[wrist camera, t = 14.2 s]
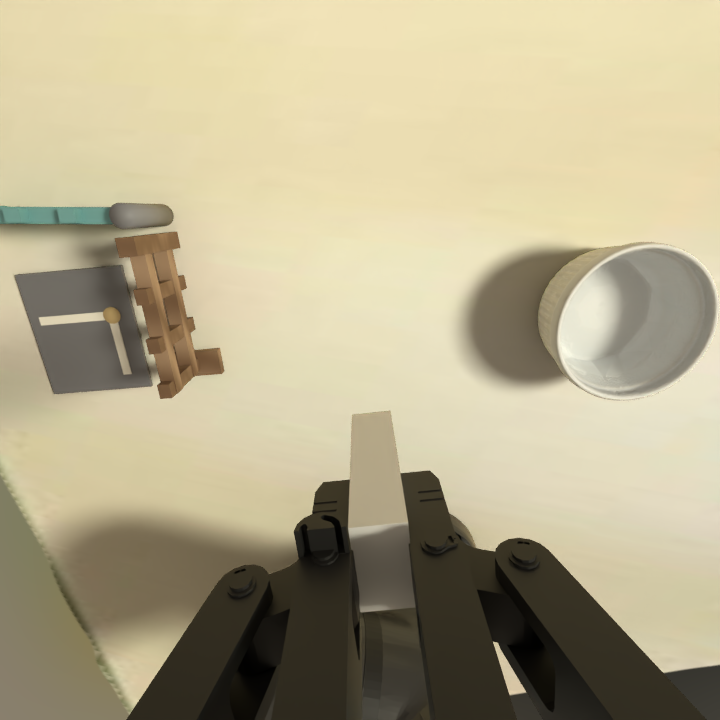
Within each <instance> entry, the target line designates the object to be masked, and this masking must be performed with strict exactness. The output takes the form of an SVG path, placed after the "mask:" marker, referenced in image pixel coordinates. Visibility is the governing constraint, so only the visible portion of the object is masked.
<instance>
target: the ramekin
mask: <svg viewBox="0 0 720 720" xmlns="http://www.w3.org/2000/svg"><path fill="white" fill-rule="evenodd" d="M718 319H719V295H718V291H717V287H716V284H715V282H714V279H713V277H712V276H711V274H710V272H709V271H708V269H707V268H706V267H705V266H704V265H703V263H702V262H701V261H699V260H698V259H697V258H696V257H694V256H693V255H692V254H690V253H688V252H687V251H685V250H683V249H680V248H678V247H675V246H671V245H667V244H661V243H654V242H637V243H630V244H626V245H622V246H613V247H606V248H599V249H595V250H593V251H589V252H587V253H585V254H583V255H580V256H578V257H577V258H576V259H574V260H571V261H570V262H569V263H568V264H567V265H565V266H563V267H562V268H561V270H560V271H558V272H557V273H556V274H555V276H554V277H553V278H552V279H551V281H550V283H549V284H548V286H547V287H546V289H545V292H544V294H543V296H542V299H541V302H540V305H539V310H538V328H539V331H540V336H541V338H542V342H543V344H544V346H545V347H546V349H547V351H548V352H549V353H550V355H551V356H552V357H553V358H554V360H555V361H556V363H557V365H558V367H559V368H560V370H561V371H562V373H563V374H564V375H565V376H566V377H567V378H568V379H569V380H570V381H571V382H572V383H573V384H575V385H576V386H578V387H579V388H581V389H582V390H584V391H586V392H588V393H590V394H592V395H594V396H597V397H600V398H604V399H609V400H623V401H624V400H635V399H640V398H645V397H648V396H651V395H654V394H657V393H659V392H661V391H664V390H665V389H667V388H669V387H671V386H673V385H674V384H676V383H677V382H678V381H680V380H681V379H682V378H683V377H685V376H686V375H687V374H688V373H689V372H690V371H691V370H692V369H693V368H694V367H695V366H696V365H697V364H698V362H699V361H700V360H701V359H702V357H703V356H704V354H705V353H706V351H707V349H708V348H709V346H710V344H711V342H712V339H713V337H714V334H715V331H716V328H717V324H718Z"/></svg>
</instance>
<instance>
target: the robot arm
mask: <svg viewBox="0 0 720 720" xmlns="http://www.w3.org/2000/svg"><path fill="white" fill-rule="evenodd" d="M312 513H313V514H312V515H310V516H308V517H306V518H304V519H303V520H301V521H300V522H299V523H298V524H297V526H296V528H295V530H294V535H295V540H296V545H297V551H298V556H299V560H298V561H297V562H296V563H294V564H293V565H291V566H290V567H288V568H286V569H283V570H281V571H278V572H275V573H272V574H270V575H268V572H267V571H266V570H265V569H264V568H263V567H260V566H257V565H244V566H241V567H238V568H235V569H233V570H232V571H230V572H229V573H227V574H225V575H224V576H223V577H222V579H221V580H220V581H219V582H218V583H217V585H216V586H215V588H214V589H213V591H212V592H211V594H210V595H209V597H208V598H207V600H206V601H205V603H204V604H203V606H202V607H201V609H200V610H199V612H198V613H197V615H196V616H195V618H194V619H193V621H192V622H191V624H190V625H189V627H188V628H187V630H186V631H185V633H184V634H183V636H182V637H181V639H180V640H179V642H178V643H177V645H176V646H175V648H174V649H173V651H172V652H171V654H170V655H169V657H168V658H167V660H166V661H165V663H164V664H163V666H162V667H161V669H160V670H159V672H158V673H157V675H156V676H155V678H154V679H153V681H152V682H151V684H150V685H149V687H148V688H147V690H146V691H145V693H144V694H143V696H142V697H141V699H140V700H139V702H138V703H137V705H136V706H135V708H134V709H133V711H132V712H131V714H130V715H129V717H128V718H127V720H517V718H516V715H515V712H514V709H513V706H512V702H511V699H510V696H509V692H508V689H507V686H506V683H505V680H504V676H503V673H502V670H501V667H500V663H499V660H498V657H497V654H496V651H495V647H494V644H493V642H498V643H499V646H500V649H501V650H502V652H503V654H504V655H505V657H506V659H507V660H508V662H509V664H510V665H511V667H512V669H513V670H514V672H515V674H516V675H517V677H518V679H519V680H520V682H521V684H522V685H523V687H524V689H525V690H526V692H527V694H528V695H529V697H530V699H531V700H532V702H533V704H534V705H535V707H536V709H537V710H538V712H539V714H540V715H541V717H542V719H543V720H706V719H705V717H704V716H702V715H701V713H700V712H699V711H698V710H697V709H696V708H695V707H694V706H693V705H692V703H690V701H689V700H688V699H687V698H686V697H685V696H684V695H683V694H682V693H681V692H680V691H679V690H678V688H677V687H676V686H675V685H674V684H673V683H672V682H671V681H670V680H669V679H668V678H667V677H666V676H665V675H664V673H663V672H662V671H661V670H660V669H659V668H658V667H657V666H656V665H655V664H654V663H653V662H652V661H651V660H650V658H649V657H648V656H647V655H646V654H645V653H644V652H643V651H642V650H641V649H640V648H639V647H638V646H637V645H636V643H635V642H634V641H633V640H632V639H631V638H630V637H629V636H628V635H627V634H626V633H625V632H624V631H623V630H622V628H621V627H620V626H619V625H618V624H617V623H616V622H615V621H614V620H613V619H612V618H611V617H610V616H609V615H608V613H607V612H606V611H605V610H604V609H603V608H602V607H601V606H600V605H599V604H598V603H597V602H596V601H595V600H594V598H593V597H592V596H591V595H590V594H589V593H588V592H587V591H586V590H585V589H584V588H583V587H582V586H581V584H580V583H579V582H578V581H577V580H576V579H575V578H574V577H573V576H572V575H571V574H570V573H569V572H568V571H567V569H566V568H565V567H564V566H563V565H562V564H561V563H560V562H559V561H558V560H557V559H556V558H555V557H554V556H553V554H552V553H551V552H550V551H549V550H548V549H546V548H545V547H544V546H542V545H541V544H540V543H537V542H535V541H532V540H530V539H523V538H514V539H508V540H506V541H504V542H502V543H500V544H499V546H498V547H497V548H496V552H494V551H487V550H481V549H477V548H476V546H475V543H474V540H473V538H472V536H471V534H470V532H469V531H468V529H467V528H466V527H465V525H464V524H463V523H462V522H461V521H459V520H458V519H457V518H456V517H454V516H453V515H451V514H449V512H448V508H447V505H446V502H445V499H444V495H443V492H442V488H441V485H440V482H439V479H438V478H437V477H436V476H435V475H434V474H433V473H432V472H431V471H420V472H410V473H400V468H399V462H398V455H397V449H396V443H395V437H394V430H393V424H392V418H391V412H390V411H383V412H373V413H364V414H354V415H352V431H351V459H350V480H342V481H332V482H323V483H322V485H321V486H320V487H319V488H318V490H317V491H316V492H315V498H314V505H313V511H312Z"/></svg>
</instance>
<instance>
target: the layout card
mask: <svg viewBox="0 0 720 720" xmlns="http://www.w3.org/2000/svg"><path fill="white" fill-rule="evenodd" d="M15 278H16V281H17V284H18V287H19V290H20V293H21V296H22V299H23V302H24V305H25V308H26V311H27V314H28V317H29V320H30V323H31V326H32V329H33V332H34V335H35V338H36V341H37V344H38V347H39V350H40V353H41V356H42V359H43V362H44V365H45V368H46V371H47V374H48V377H49V380H50V383H51V386H52V389H53V392H54V394H63V393H75V392H88V391H100V390H112V389H125V388H137V387H149V386H152V385H153V384H152V380H151V376H150V373H149V369H148V365H147V361H146V357H145V353H144V349H143V345H142V341H141V337H140V333H139V329H138V325H137V321H136V317H135V313H134V310H133V306H132V302H131V298H130V294H129V290H128V286H127V282H126V278H125V274H124V270H123V266H122V265H120V266H108V267H97V268H86V269H75V270H63V271H52V272H41V273H30V274H18V275H15Z"/></svg>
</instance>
